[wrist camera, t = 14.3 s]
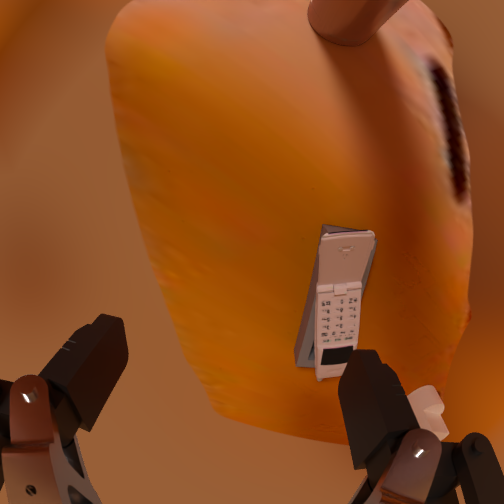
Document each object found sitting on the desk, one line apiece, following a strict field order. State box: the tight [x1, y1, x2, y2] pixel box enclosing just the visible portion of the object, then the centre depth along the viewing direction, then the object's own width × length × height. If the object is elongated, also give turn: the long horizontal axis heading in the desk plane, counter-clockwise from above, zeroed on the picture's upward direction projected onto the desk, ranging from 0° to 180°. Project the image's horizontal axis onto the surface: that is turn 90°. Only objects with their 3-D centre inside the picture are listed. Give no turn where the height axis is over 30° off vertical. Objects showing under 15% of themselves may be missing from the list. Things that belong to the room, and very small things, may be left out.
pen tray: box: [294, 224, 378, 368], centre depth 37 cm, size 21×6×4 cm, turn 173°
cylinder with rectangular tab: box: [407, 385, 449, 441], centre depth 42 cm, size 9×9×12 cm
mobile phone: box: [314, 230, 375, 381], centre depth 33 cm, size 6×6×25 cm
